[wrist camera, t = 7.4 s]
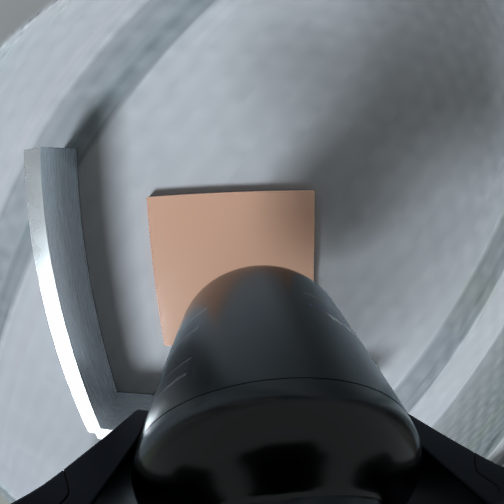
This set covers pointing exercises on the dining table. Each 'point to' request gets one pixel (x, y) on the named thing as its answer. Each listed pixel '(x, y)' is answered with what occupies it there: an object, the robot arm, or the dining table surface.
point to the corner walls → (71, 289)
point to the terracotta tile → (224, 241)
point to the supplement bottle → (273, 404)
